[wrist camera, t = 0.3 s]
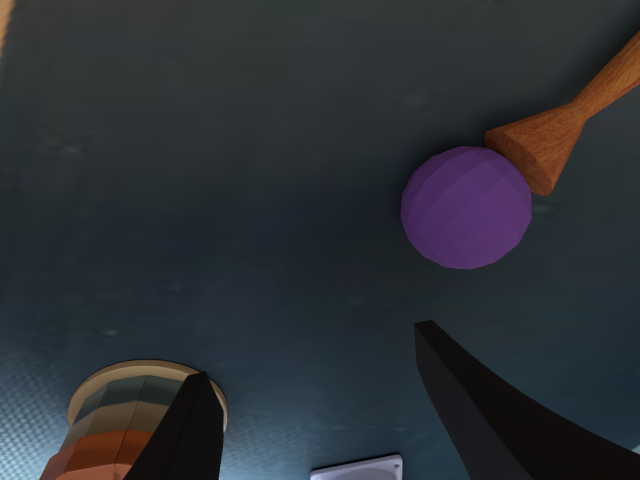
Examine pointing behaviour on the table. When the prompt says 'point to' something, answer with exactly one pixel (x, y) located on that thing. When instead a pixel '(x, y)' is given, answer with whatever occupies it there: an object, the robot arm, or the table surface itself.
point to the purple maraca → (503, 175)
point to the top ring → (98, 456)
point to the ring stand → (128, 398)
